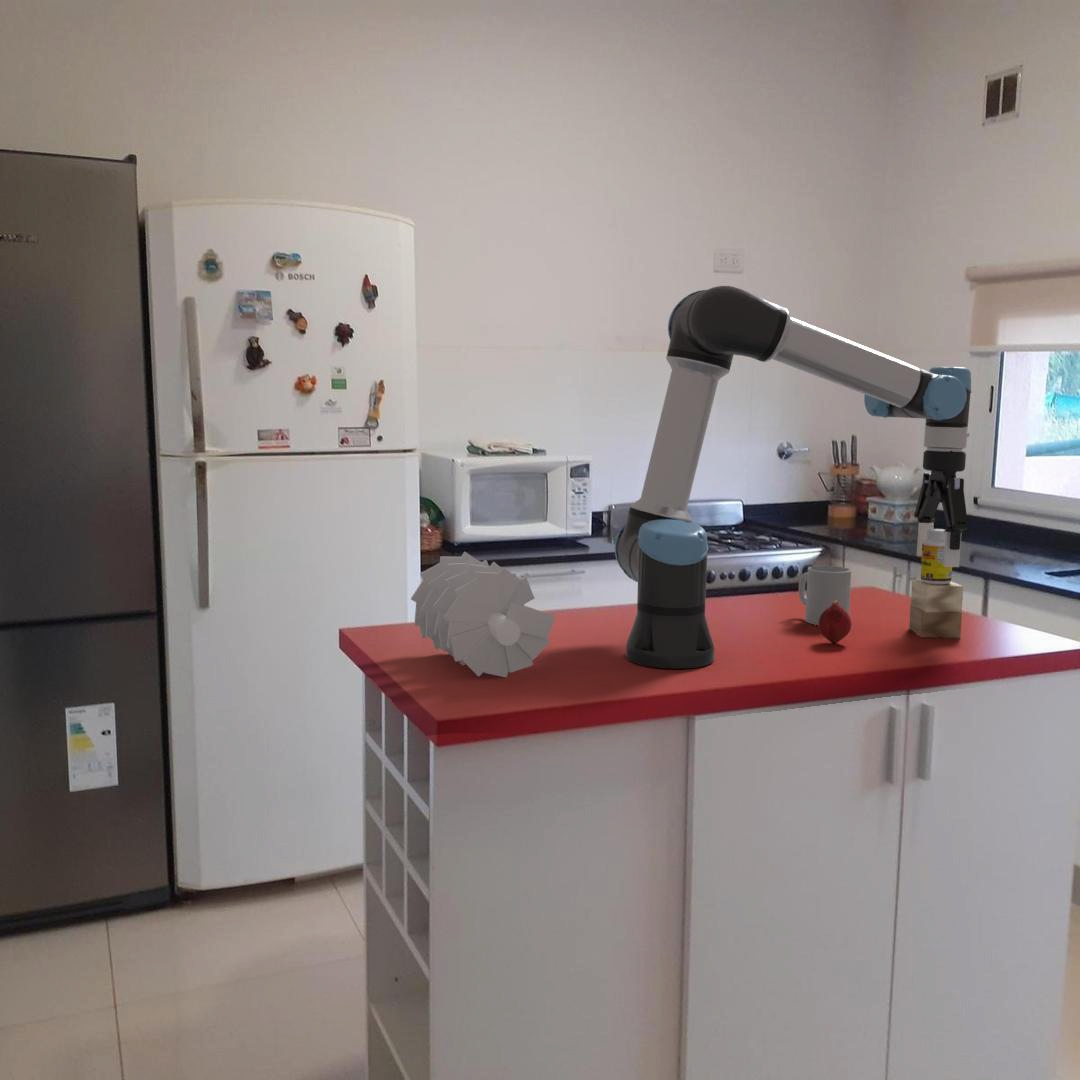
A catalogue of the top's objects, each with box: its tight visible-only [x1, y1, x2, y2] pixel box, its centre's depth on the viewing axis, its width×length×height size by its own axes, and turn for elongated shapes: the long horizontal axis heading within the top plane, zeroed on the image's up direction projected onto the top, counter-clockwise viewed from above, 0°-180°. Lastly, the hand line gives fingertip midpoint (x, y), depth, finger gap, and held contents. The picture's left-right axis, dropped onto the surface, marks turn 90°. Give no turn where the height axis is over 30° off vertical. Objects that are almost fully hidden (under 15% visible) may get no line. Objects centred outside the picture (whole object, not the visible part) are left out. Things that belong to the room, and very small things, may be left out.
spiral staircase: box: [410, 551, 556, 678], centre depth 183 cm, size 18×18×25 cm
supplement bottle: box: [920, 528, 953, 585], centre depth 209 cm, size 6×6×10 cm
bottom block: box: [908, 603, 963, 639], centre depth 211 cm, size 8×8×5 cm
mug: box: [798, 565, 852, 626], centre depth 221 cm, size 12×8×11 cm
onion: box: [818, 601, 852, 644], centre depth 201 cm, size 6×6×8 cm
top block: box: [910, 579, 964, 613], centre depth 210 cm, size 7×7×5 cm
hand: (937, 561), depth 209 cm, fingers open, 13 cm apart
